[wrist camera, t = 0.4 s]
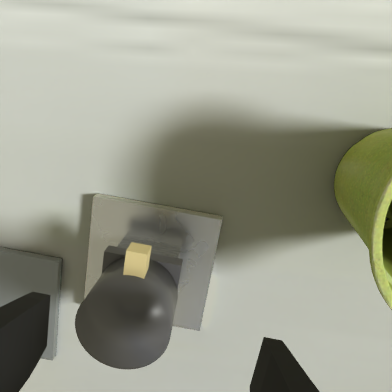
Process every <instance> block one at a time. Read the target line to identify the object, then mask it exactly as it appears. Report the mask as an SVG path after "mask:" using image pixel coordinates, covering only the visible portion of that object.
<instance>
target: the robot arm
mask: <svg viewBox="0 0 392 392" xmlns="http://www.w3.org/2000/svg"><path fill="white" fill-rule="evenodd" d="M50 296H51V295H48V294H43V293H38V292H31V293H28V294H26V295H24V296H22V297H20V298H18V299H16V300H14V301H12V302H10V303H8V304H6V305H3V306H1V307H0V392H19V391H20V389H21V388H22V387H23V385H24V384H25V382H26V381H27V380H28V378H29V377H30V375H31V373H32V372H33V370H34V368H35V367H36V365H37V363H38V361H39V360H40V358H41V356H42V354H43V352H44V351H45V349H46V347H47V337H48V324H49V310H50ZM250 392H319V390H318V389H317V388H316V386H315V385H314V384H313V383H312V381H311V380H310V378H309V377H308V376H307V374H306V373H305V372H304V370H303V369H302V367H301V366H300V365H299V363H298V362H297V361H296V359H295V358H294V356H293V355H292V354H291V352H290V351H289V349H288V348H287V347H286V345H285V344H284V343H283V341H281V340H276V339H271V338H266V337H264V338H263V342H262V346H261V349H260V353H259V356H258V360H257V363H256V367H255V370H254V374H253V377H252V381H251V384H250Z"/></svg>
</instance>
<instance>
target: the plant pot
mask: <svg viewBox="0 0 392 392" xmlns="http://www.w3.org/2000/svg"><path fill="white" fill-rule="evenodd" d="M334 192H335V197H336V200H337V203H338V205H339V207H340V209H341V211H342V212H343V214H344V215H345V217H346V218H347V219H348V221H349V222H350V224H351V225H352V226H353V227H354V229H355V230H356V232H357V233H358V234H359V236H360V237H361V239H362V240H363V242H364V243H365V244H366V246H367V247H368V249H369V255H370V264H371V269H372V273H373V276H374V279H375V282H376V284H377V287H378V289H379V291H380V293H381V295H382V297H383V298H384V300H385V301H386V303H387V304H388V306H389V307H390V308H391V310H392V128H390V129H384V130H380V131H377V132H374V133H372V134H370V135H368V136H367V137H365V138H364V139H362V140H361V141H359V142H358V143H356V144H355V145H354V146H352V147H351V148H350V149H349V150H348V151H347V153H346V154H345V155H344V156H343V158H342V160H341V161H340V163H339V165H338V168H337V171H336V174H335V180H334ZM385 218H388V220H387V221H386V222H385Z"/></svg>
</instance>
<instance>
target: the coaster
mask: <svg viewBox="0 0 392 392" xmlns="http://www.w3.org/2000/svg"><path fill="white" fill-rule="evenodd" d="M61 269H62V258H57V257H51V256H46V255H40V254H35V253H30V252H24V251H19V250H13V249H8V248H2V247H0V307H1V306H3V305H6V304H8V303H10V302H12V301H14V300H16V299H18V298H20V297H22V296H24V295H26V294H28V293H31V292H38V293H43V294H48V295H51V296H50V310H49V324H48V337H47V347H46V349H45V351H44V352H43V354H42V356H41V358H42V359H47V360H53V359H54V357H55V356H56V345H57V330H58V315H59V300H60V284H61Z"/></svg>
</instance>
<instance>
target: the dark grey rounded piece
mask: <svg viewBox="0 0 392 392" xmlns="http://www.w3.org/2000/svg"><path fill="white" fill-rule="evenodd" d="M151 247H152V246H150V245H145V244H140V243H134V242H131V244H130V245H129V247H128V248H127V249H126V248H121V247H115V246H110V245H109V246H108V247H107V248H106V250H105V251H104V256H103V266H102V275H101V276H100V278H99V279H98V281H97V282H96V283H95V285H94V286H93V288H92V289H91V291H90V292H89V294H88V295H87V296H86V298H85V299H84V301H83V302H82V304H81V305H80V307H79V309H78V311H77V314H76V319H75V328H76V333H77V336H78V339H79V341H80V343H81V344H82V346H83V347H84V349H85V350H86V351H87V352H88V353H89V354H90V355H91V356H92V357H93V358H95V359H96V360H98V361H99V362H101V363H103V364H105V365H108V366H111V367H114V368H119V369H136V368H141V367H144V366H147V365H149V364H151V363H153V362H154V361H156V360H157V359H158V358H159V357H160V356H161V355H162V354H163V353H164V351H165V350H166V348H167V346H168V344H169V340H170V335H171V330H172V325H173V320H174V315H175V310H176V305H177V299H178V285H179V279H180V274H181V268H182V263H183V259H180V258H175V257H170V256H164V255H159V254H153V253H151Z"/></svg>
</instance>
